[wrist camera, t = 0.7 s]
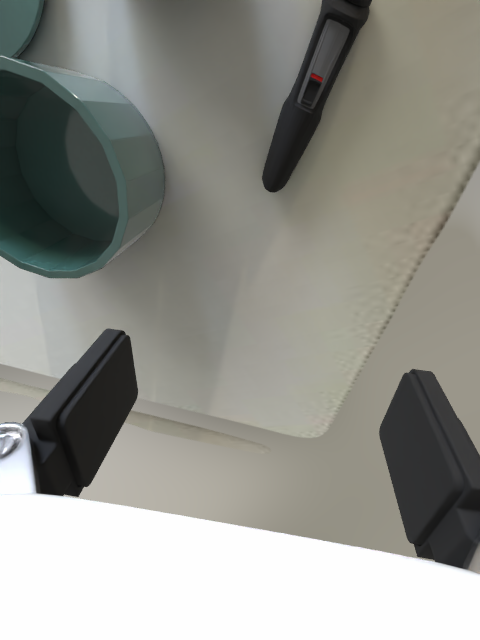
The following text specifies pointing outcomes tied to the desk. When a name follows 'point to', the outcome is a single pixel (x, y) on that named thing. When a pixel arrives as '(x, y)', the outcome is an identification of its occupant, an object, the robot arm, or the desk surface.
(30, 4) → the lid
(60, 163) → the canister
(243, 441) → the desk surface
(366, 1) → the electric trimmer
